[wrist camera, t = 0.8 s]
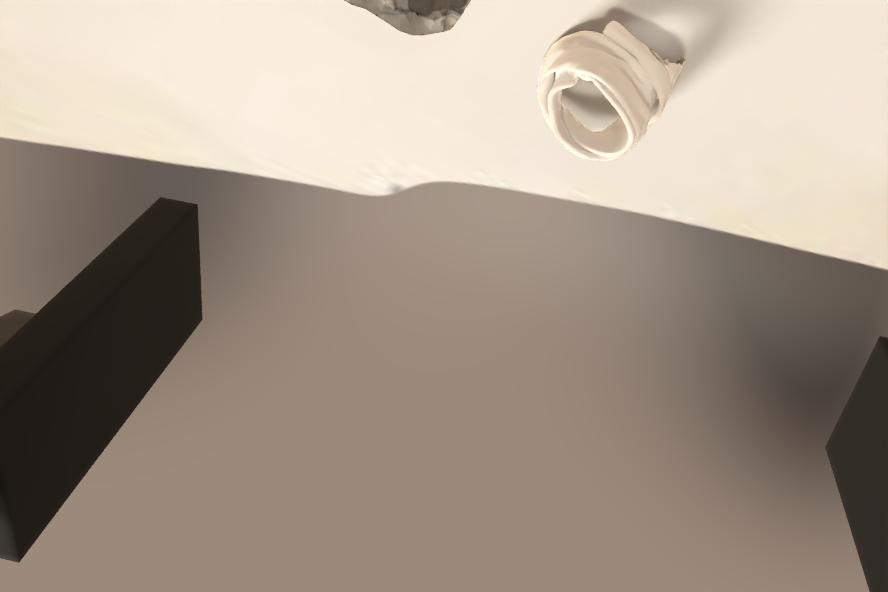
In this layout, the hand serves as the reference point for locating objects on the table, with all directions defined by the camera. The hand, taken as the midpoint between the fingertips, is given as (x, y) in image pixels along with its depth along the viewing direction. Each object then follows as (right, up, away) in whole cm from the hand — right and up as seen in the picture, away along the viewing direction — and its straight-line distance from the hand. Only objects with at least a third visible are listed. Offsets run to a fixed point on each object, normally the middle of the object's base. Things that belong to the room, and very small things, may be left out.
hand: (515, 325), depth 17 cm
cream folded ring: (+7, +12, +27) cm, 30 cm away
